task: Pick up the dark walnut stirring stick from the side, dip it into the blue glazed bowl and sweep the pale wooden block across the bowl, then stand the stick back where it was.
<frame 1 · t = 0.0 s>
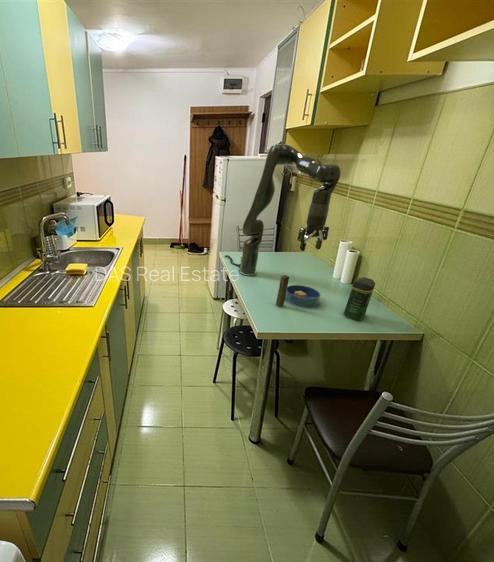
hand: (309, 249, 137), 29 cm above the table, tool pointing down, fingers open, 8 cm apart
coffee jar: (353, 316, 142), on the table
bowl: (300, 300, 155), on the table
stick: (279, 306, 149), on the table
block: (299, 299, 155), resting on bowl
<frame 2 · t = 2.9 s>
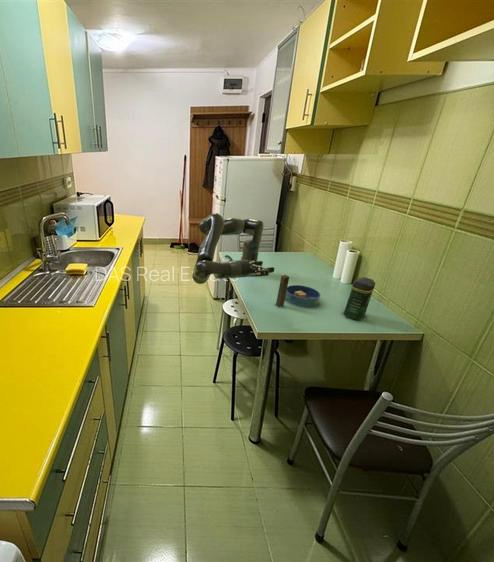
hand: (267, 266, 136), 22 cm above the table, tool horizontal, fingers open, 8 cm apart
nothing on the table moved.
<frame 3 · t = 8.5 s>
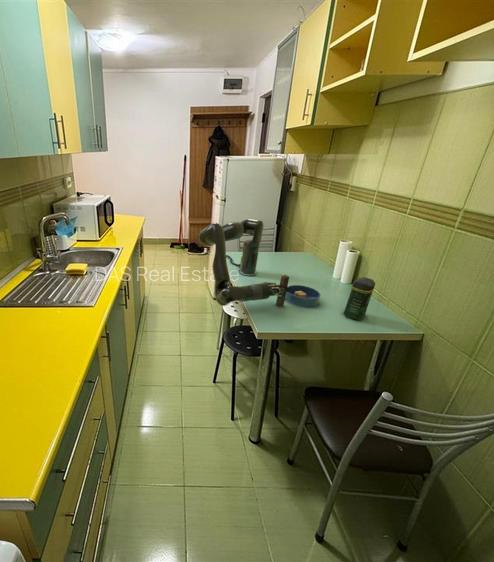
hand: (288, 287, 146), 10 cm above the table, tool horizontal, fingers closed on stick, 2 cm apart
stick: (279, 306, 149), on the table, touching gripper
everything else where it was.
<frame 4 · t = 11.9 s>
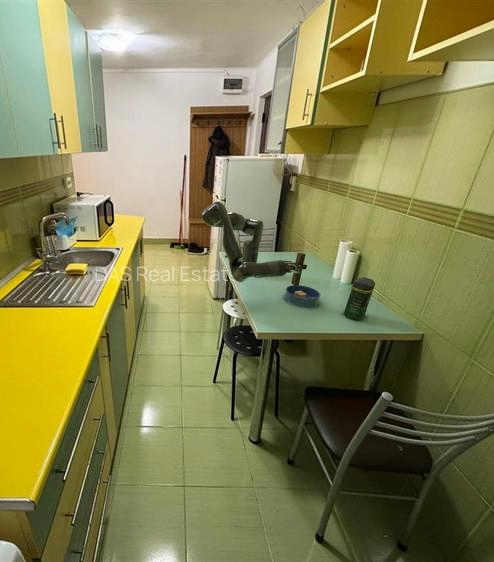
hand: (303, 265, 146), 20 cm above the table, tool horizontal, fingers closed on stick, 2 cm apart
stick: (295, 284, 149), point 10 cm above the table, touching gripper
everything else where it was.
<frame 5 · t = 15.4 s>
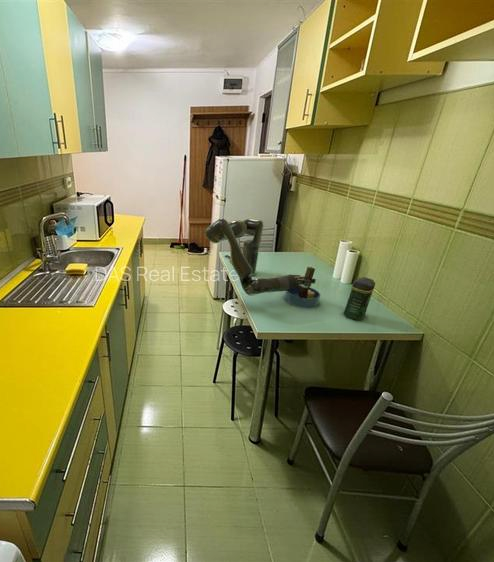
hand: (312, 279, 152), 11 cm above the table, tool horizontal, fingers closed on stick, 2 cm apart
stick: (302, 297, 154), point 2 cm above the table, tilted 6°, touching block, gripper
block: (307, 298, 156), point 1 cm above the table, touching bowl, stick
everything else where it was.
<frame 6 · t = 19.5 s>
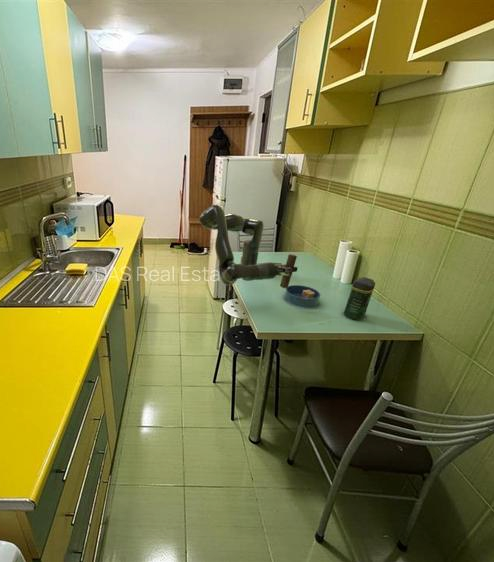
hand: (294, 267, 143), 20 cm above the table, tool horizontal, fingers closed on stick, 2 cm apart
stick: (283, 286, 145), point 10 cm above the table, tilted 6°, touching gripper
block: (307, 298, 156), resting on bowl
everything else where it was.
when the fingers open (10 cm above the table, at t = 22.6 s): stick stays where it is, on the table.
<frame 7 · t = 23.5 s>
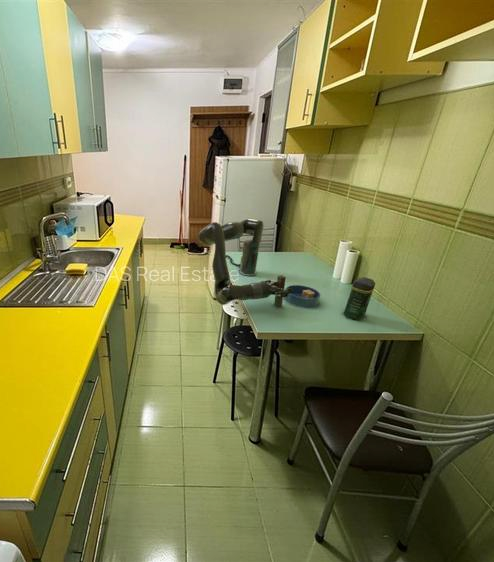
hand: (286, 286, 146), 10 cm above the table, tool horizontal, fingers open, 8 cm apart
stick: (277, 306, 149), on the table
everything else where it was.
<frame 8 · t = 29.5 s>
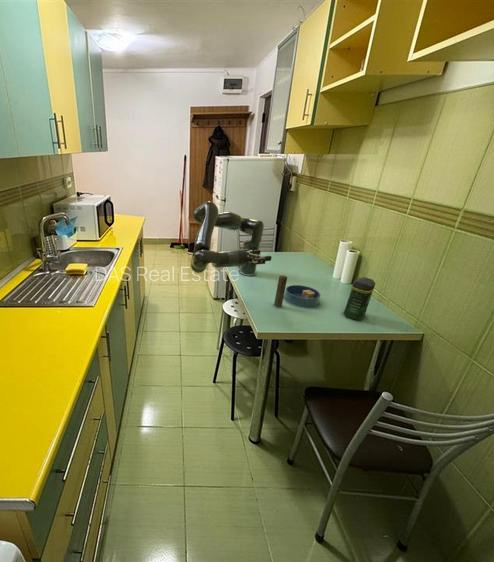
hand: (265, 255, 139), 26 cm above the table, tool horizontal, fingers open, 8 cm apart
nothing on the table moved.
at the end: block moved 5.1 cm from its start; block inside the target area in the bowl (3.9 cm from its centre), point 0.5 cm above the bowl's base; the gripper is holding nothing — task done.
